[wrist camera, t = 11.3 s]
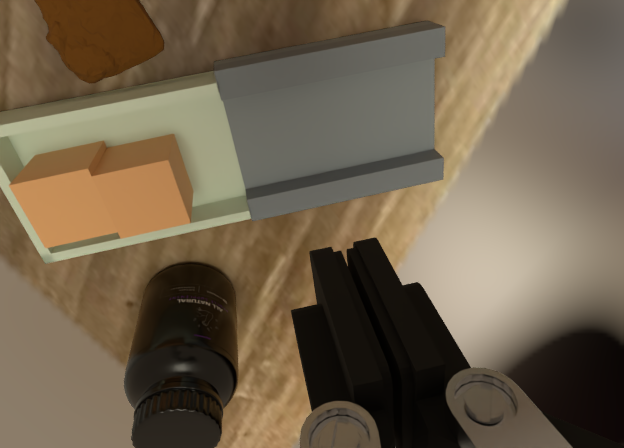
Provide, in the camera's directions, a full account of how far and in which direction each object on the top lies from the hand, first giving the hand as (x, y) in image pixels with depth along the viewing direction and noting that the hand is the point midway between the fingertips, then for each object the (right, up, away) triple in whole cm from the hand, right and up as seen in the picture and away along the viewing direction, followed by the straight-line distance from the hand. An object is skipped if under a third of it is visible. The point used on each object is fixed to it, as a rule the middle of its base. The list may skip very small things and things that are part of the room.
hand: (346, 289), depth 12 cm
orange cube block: (-15, +4, +16) cm, 22 cm away
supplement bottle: (-10, -4, +24) cm, 26 cm away
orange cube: (-11, +5, +17) cm, 21 cm away
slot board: (0, +9, +18) cm, 20 cm away
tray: (-12, +6, +17) cm, 22 cm away
